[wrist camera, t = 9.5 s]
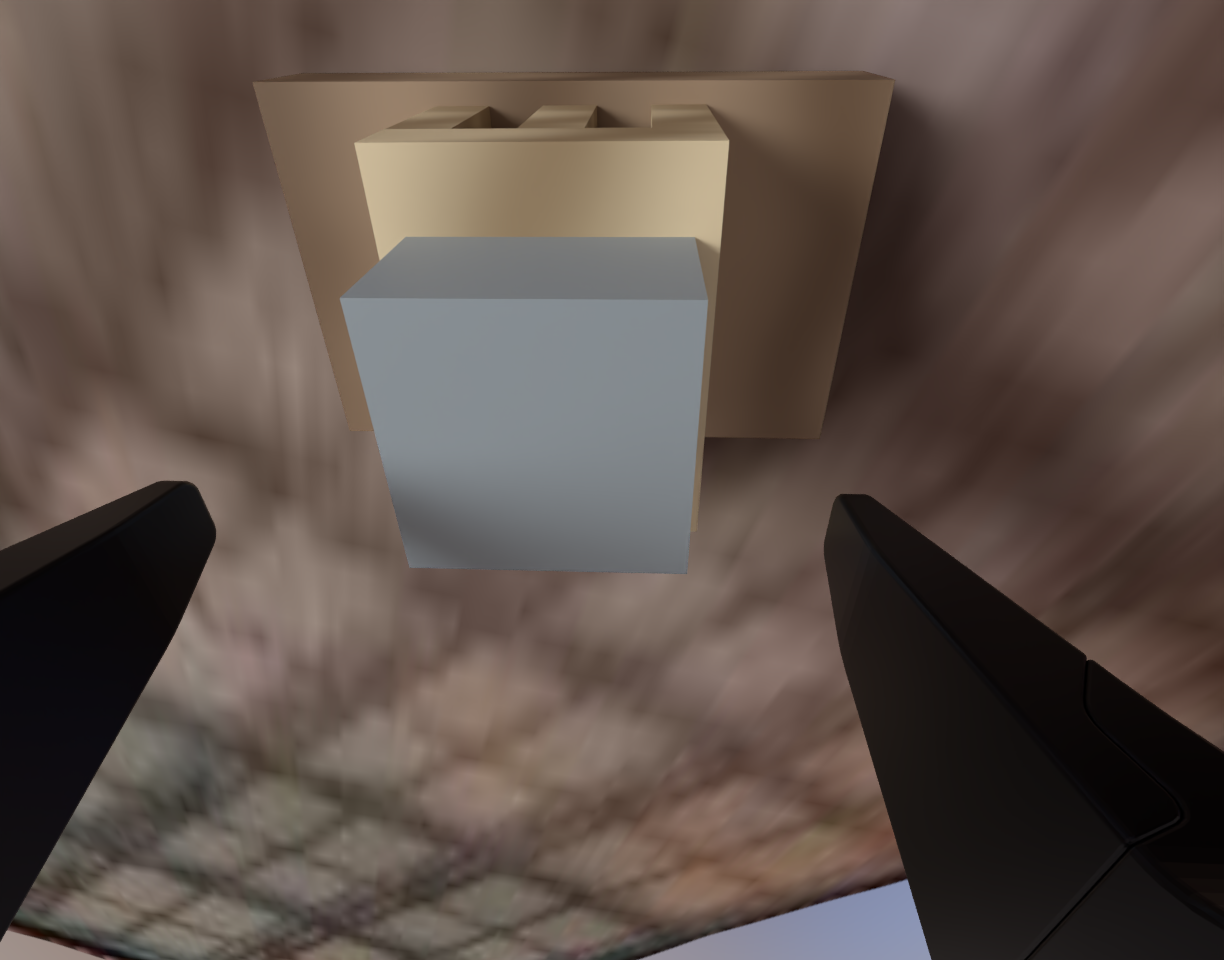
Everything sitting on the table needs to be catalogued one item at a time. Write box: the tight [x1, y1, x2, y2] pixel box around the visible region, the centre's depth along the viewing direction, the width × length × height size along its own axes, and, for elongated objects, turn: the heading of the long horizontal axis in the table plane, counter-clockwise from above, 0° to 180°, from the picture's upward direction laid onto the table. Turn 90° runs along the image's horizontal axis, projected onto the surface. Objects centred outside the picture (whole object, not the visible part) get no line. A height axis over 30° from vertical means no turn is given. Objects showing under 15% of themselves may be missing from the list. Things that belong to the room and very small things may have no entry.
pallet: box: [354, 104, 729, 532], centre depth 15 cm, size 6×8×5 cm
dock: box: [252, 71, 895, 439], centre depth 18 cm, size 14×9×2 cm, turn 90°
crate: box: [340, 237, 708, 574], centre depth 11 cm, size 5×5×3 cm
